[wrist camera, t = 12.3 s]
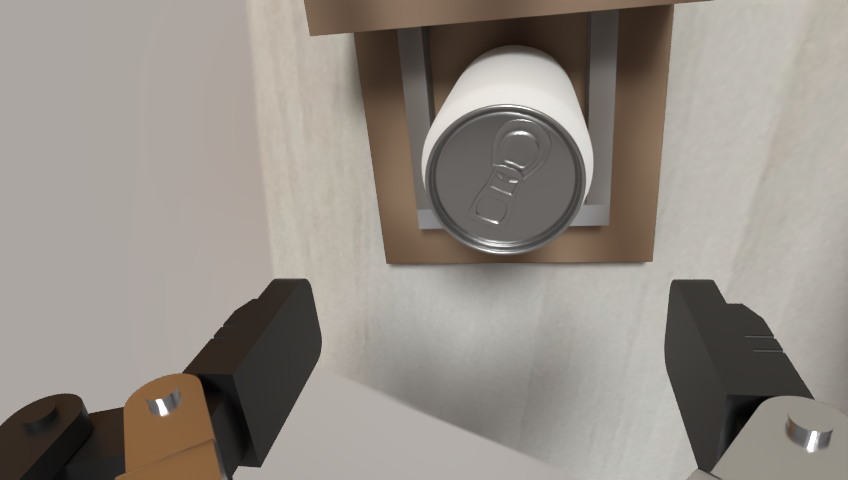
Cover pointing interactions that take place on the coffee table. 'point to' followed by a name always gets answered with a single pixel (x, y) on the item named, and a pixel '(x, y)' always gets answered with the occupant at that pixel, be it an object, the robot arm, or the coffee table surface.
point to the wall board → (449, 57)
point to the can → (508, 153)
